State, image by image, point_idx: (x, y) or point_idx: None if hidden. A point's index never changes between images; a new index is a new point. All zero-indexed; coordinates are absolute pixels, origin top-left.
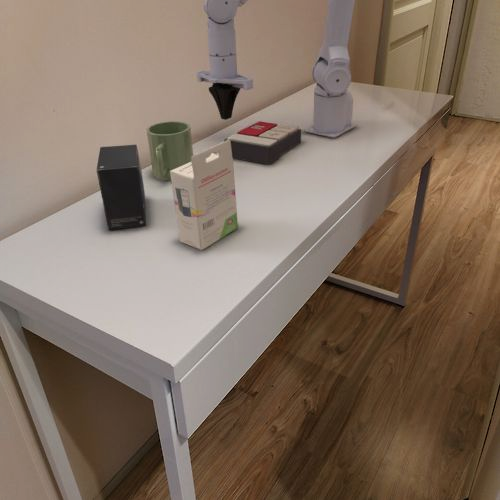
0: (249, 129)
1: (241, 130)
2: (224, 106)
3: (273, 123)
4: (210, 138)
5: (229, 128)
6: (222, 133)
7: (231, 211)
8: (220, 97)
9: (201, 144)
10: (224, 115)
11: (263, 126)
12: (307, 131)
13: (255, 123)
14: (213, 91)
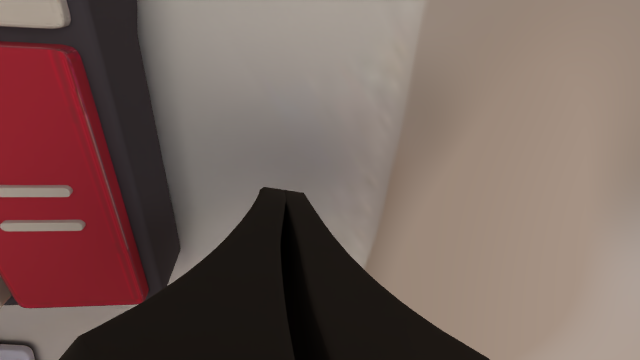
0: (44, 150)
1: (70, 103)
2: (234, 235)
3: (44, 304)
4: (375, 141)
5: None
6: (351, 216)
7: None
8: (257, 295)
9: (381, 42)
10: (261, 197)
11: (31, 240)
12: (13, 347)
13: (128, 267)
14: (387, 355)
